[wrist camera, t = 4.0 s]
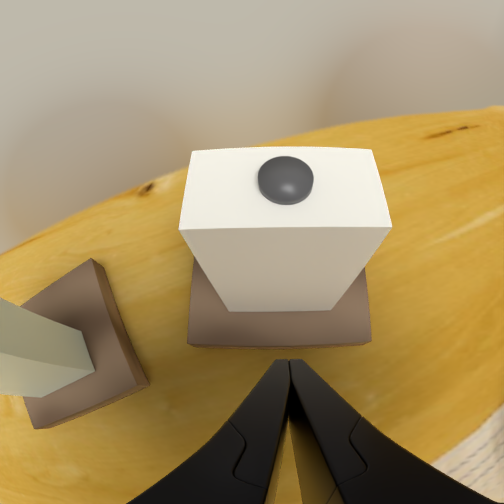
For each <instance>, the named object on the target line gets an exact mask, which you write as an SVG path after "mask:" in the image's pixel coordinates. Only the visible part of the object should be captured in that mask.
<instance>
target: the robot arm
mask: <svg viewBox="0 0 504 504" xmlns="http://www.w3.org/2000/svg"><path fill="white" fill-rule="evenodd" d="M288 418H289V427H290V432H291V438H292V444H293V450H294V455H295V461H296V467H297V473H298V478H299V484H300V490H301V496H302V502H303V504H504V503H498V502H495V501H493V500H491V499H489V498H487V497H485V496H483V495H481V494H479V493H477V492H476V491H474V490H472V489H470V488H468V487H467V486H465V485H463V484H461V483H459V482H458V481H456V480H454V479H453V478H451V477H449V476H447V475H446V474H444V473H442V472H441V471H439V470H437V469H436V468H434V467H433V466H431V465H429V464H428V463H426V462H424V461H423V460H421V459H420V458H418V457H417V456H415V455H413V454H412V453H410V452H409V451H407V450H406V449H404V448H403V447H401V446H400V445H398V444H397V443H395V442H394V441H393V440H391V439H390V438H388V437H387V436H386V435H384V434H383V433H382V432H380V431H379V430H378V429H377V428H376V427H374V426H373V425H372V424H371V423H370V422H369V421H368V420H366V419H365V418H364V417H362V416H361V415H360V414H359V413H358V412H357V411H356V410H355V409H354V408H353V407H352V406H351V405H350V404H348V403H347V402H346V401H345V400H344V399H343V398H342V397H341V396H340V395H339V394H338V393H337V392H336V391H335V390H334V389H333V388H331V387H330V386H329V385H328V384H327V383H326V382H325V381H324V380H323V379H322V378H321V377H320V376H319V375H318V374H317V373H316V372H315V371H314V370H313V369H312V368H311V367H310V366H309V365H308V364H307V363H305V362H304V361H303V360H302V359H290V360H289V361H288V360H287V359H276V360H275V361H274V362H273V363H272V365H271V366H270V367H269V369H268V370H267V371H266V373H265V374H264V375H263V377H262V378H261V379H260V381H259V382H258V383H257V384H256V386H255V387H254V388H253V390H252V391H251V392H250V393H249V395H248V396H247V397H246V398H245V400H244V401H243V402H242V403H241V405H240V406H239V407H238V408H237V409H236V411H235V412H234V413H233V414H232V416H231V417H230V418H229V419H228V421H226V422H225V423H224V425H223V426H222V427H221V428H220V429H219V430H218V431H217V433H216V434H215V435H214V436H213V437H212V438H211V439H210V440H209V441H208V442H207V443H206V444H205V445H203V446H202V447H201V448H200V449H199V450H198V451H197V452H196V453H194V454H193V455H192V456H191V457H189V458H188V459H187V460H186V461H184V462H183V463H182V464H181V465H179V466H178V467H177V468H175V469H174V470H173V471H172V472H170V473H169V474H168V475H166V476H165V477H164V478H162V479H161V480H160V481H158V482H157V483H156V484H154V485H153V486H151V487H150V488H149V489H147V490H146V491H144V492H143V493H141V494H140V495H139V496H137V497H136V498H134V499H133V500H131V501H130V502H128V503H127V504H274V500H275V495H276V490H277V485H278V479H279V474H280V468H281V462H282V457H283V451H284V444H285V438H286V432H287V425H288Z"/></svg>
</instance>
